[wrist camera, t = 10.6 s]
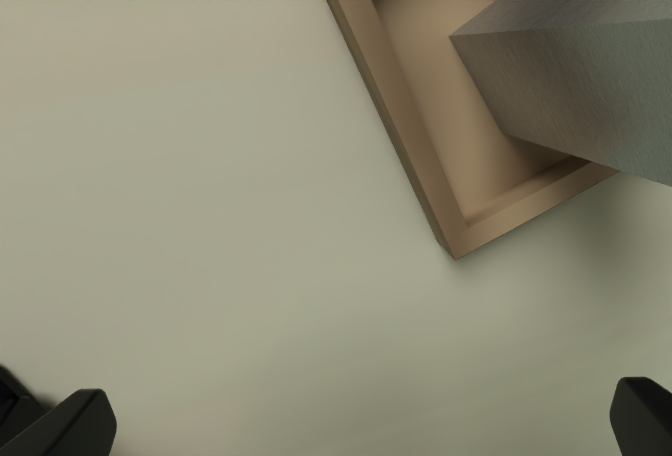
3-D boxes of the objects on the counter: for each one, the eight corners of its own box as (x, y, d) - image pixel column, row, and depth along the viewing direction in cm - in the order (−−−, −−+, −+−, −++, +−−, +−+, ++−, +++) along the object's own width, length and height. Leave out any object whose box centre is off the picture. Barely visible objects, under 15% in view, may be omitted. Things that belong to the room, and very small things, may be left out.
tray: (437, 242, 22) (455, 259, 20) (314, -27, 17) (322, -36, 16) (674, 114, 22) (714, 120, 20) (611, -191, 17) (655, -220, 15)
